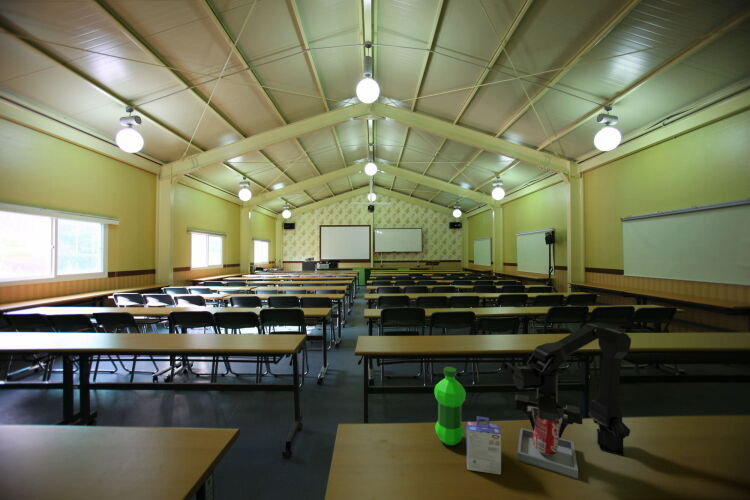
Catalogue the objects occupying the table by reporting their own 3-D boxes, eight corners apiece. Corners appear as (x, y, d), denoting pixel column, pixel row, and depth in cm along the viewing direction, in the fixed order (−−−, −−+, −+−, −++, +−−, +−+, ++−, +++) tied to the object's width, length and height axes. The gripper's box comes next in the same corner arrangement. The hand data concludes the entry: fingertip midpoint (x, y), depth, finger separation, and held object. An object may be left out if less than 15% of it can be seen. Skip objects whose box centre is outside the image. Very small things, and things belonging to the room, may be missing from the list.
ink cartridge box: (498, 462, 95) (498, 416, 95) (502, 475, 89) (502, 427, 89) (465, 458, 97) (465, 413, 97) (467, 470, 91) (467, 423, 91)
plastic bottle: (430, 444, 103) (430, 371, 103) (440, 428, 112) (441, 361, 112) (459, 454, 98) (460, 378, 98) (468, 437, 107) (468, 367, 107)
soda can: (555, 446, 100) (558, 411, 100) (558, 460, 94) (561, 423, 93) (531, 439, 103) (534, 405, 103) (532, 452, 97) (535, 416, 96)
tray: (573, 449, 101) (573, 441, 101) (578, 479, 88) (578, 470, 88) (520, 434, 109) (520, 427, 109) (517, 460, 96) (517, 452, 96)
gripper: (513, 390, 96) (513, 439, 96) (584, 405, 87) (584, 459, 87) (516, 376, 105) (515, 421, 106) (580, 389, 96) (580, 437, 97)
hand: (546, 434), depth 98 cm, fingers closed on soda can, 7 cm apart
